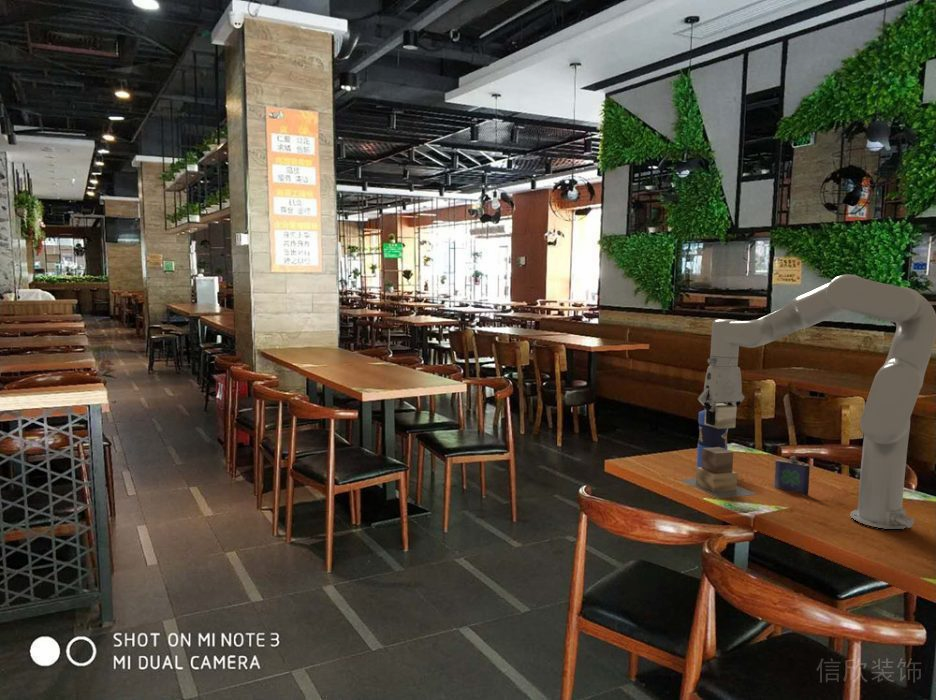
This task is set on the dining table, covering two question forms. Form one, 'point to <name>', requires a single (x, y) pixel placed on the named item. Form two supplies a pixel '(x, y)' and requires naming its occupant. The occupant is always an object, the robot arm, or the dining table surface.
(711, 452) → the walnut cube
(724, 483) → the base block
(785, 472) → the flask
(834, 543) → the dining table surface
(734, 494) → the slate board
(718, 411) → the birch cube
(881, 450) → the robot arm
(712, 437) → the water bottle
